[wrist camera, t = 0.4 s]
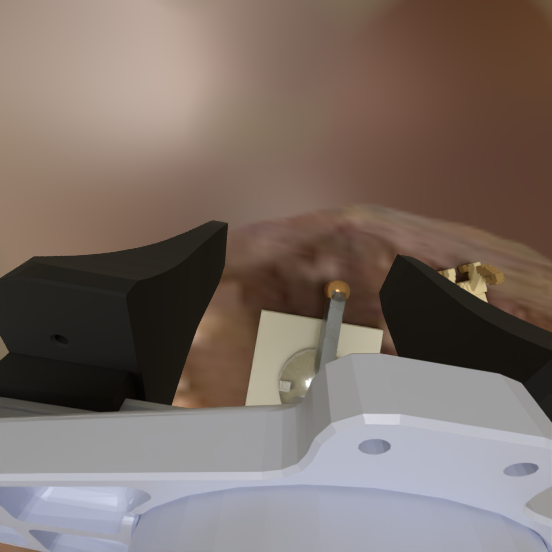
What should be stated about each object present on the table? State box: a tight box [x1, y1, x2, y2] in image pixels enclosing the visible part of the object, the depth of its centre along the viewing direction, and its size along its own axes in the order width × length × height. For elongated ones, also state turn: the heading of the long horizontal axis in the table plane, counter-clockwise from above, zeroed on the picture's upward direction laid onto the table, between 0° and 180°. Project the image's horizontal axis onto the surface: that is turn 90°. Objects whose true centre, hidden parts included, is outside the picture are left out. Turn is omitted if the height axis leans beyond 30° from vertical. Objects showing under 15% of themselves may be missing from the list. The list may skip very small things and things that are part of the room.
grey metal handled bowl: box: [278, 281, 350, 404], centre depth 33 cm, size 18×9×5 cm, turn 170°
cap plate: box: [245, 309, 383, 406], centre depth 36 cm, size 16×16×2 cm
